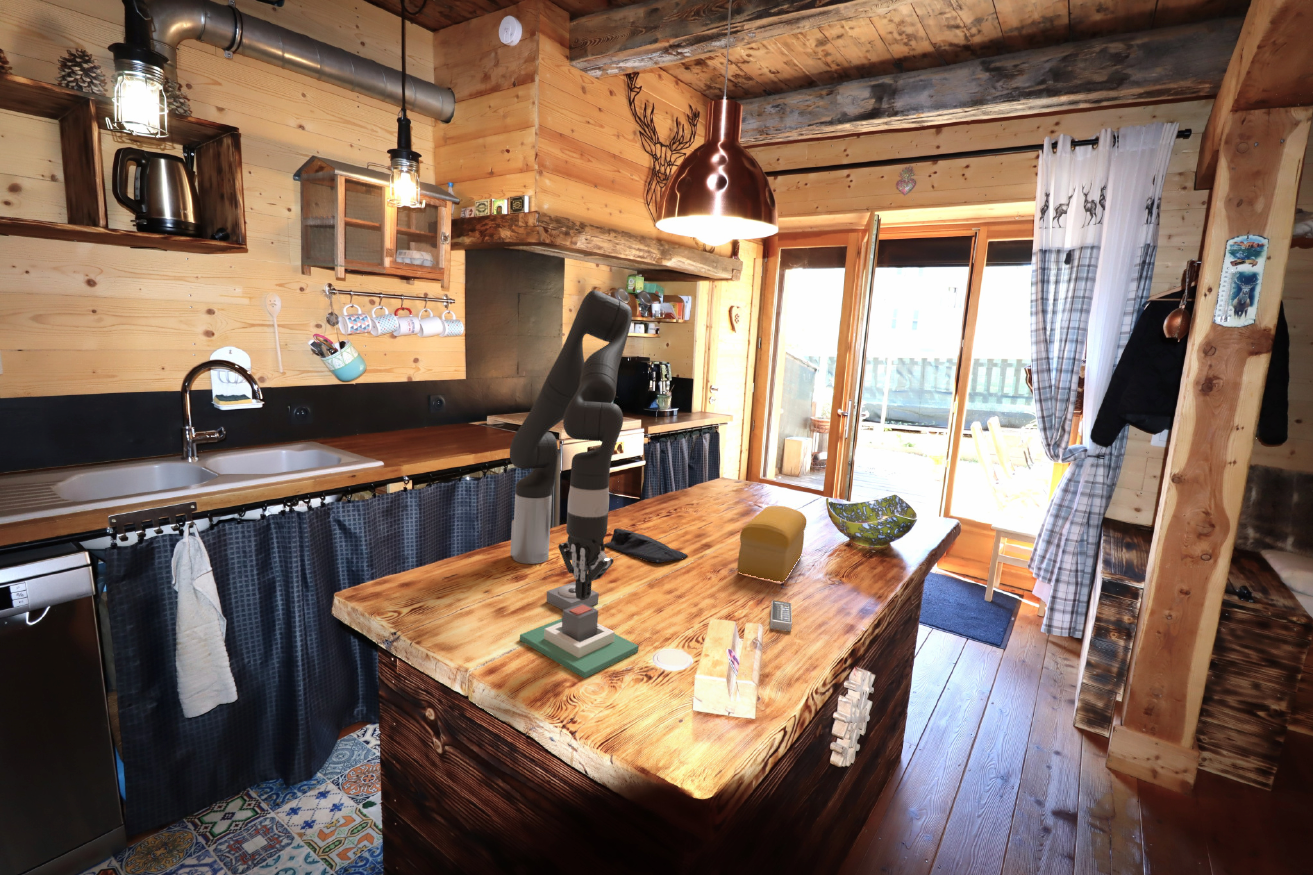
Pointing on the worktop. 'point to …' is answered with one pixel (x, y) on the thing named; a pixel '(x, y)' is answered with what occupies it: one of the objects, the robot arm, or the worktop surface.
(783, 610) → the multiport hub
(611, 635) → the circuit board
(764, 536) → the bread
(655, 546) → the dark slate chunk
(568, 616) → the keyed plug
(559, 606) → the grey square domed block
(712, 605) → the worktop surface
